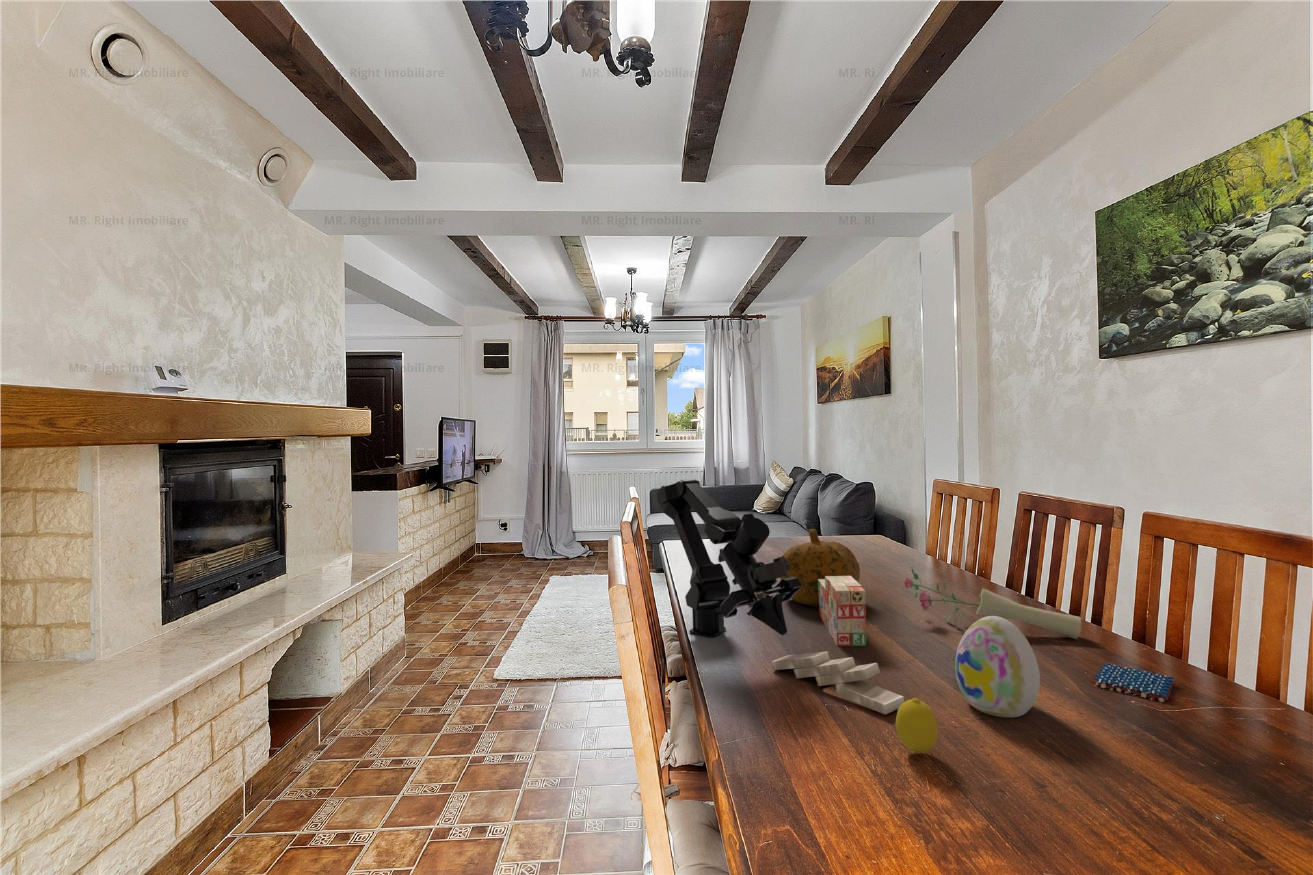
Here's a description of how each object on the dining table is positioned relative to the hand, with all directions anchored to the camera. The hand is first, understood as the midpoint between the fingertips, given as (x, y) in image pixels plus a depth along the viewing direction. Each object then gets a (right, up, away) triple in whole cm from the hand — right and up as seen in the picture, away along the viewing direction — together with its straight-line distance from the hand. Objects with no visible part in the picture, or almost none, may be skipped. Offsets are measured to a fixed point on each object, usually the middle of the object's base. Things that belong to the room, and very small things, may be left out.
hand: (784, 633), depth 118 cm
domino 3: (+6, -6, -7) cm, 11 cm away
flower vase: (+50, -5, +19) cm, 54 cm away
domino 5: (+8, -6, -11) cm, 15 cm away
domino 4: (+7, -7, -9) cm, 13 cm away
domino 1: (-1, -6, +1) cm, 6 cm away
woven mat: (+59, -6, -11) cm, 61 cm away
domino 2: (+3, -6, -3) cm, 7 cm away
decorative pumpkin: (+19, -6, +45) cm, 49 cm away
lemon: (+12, -7, -31) cm, 34 cm away
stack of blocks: (+18, -6, +22) cm, 29 cm away
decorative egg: (+32, -7, -18) cm, 37 cm away
